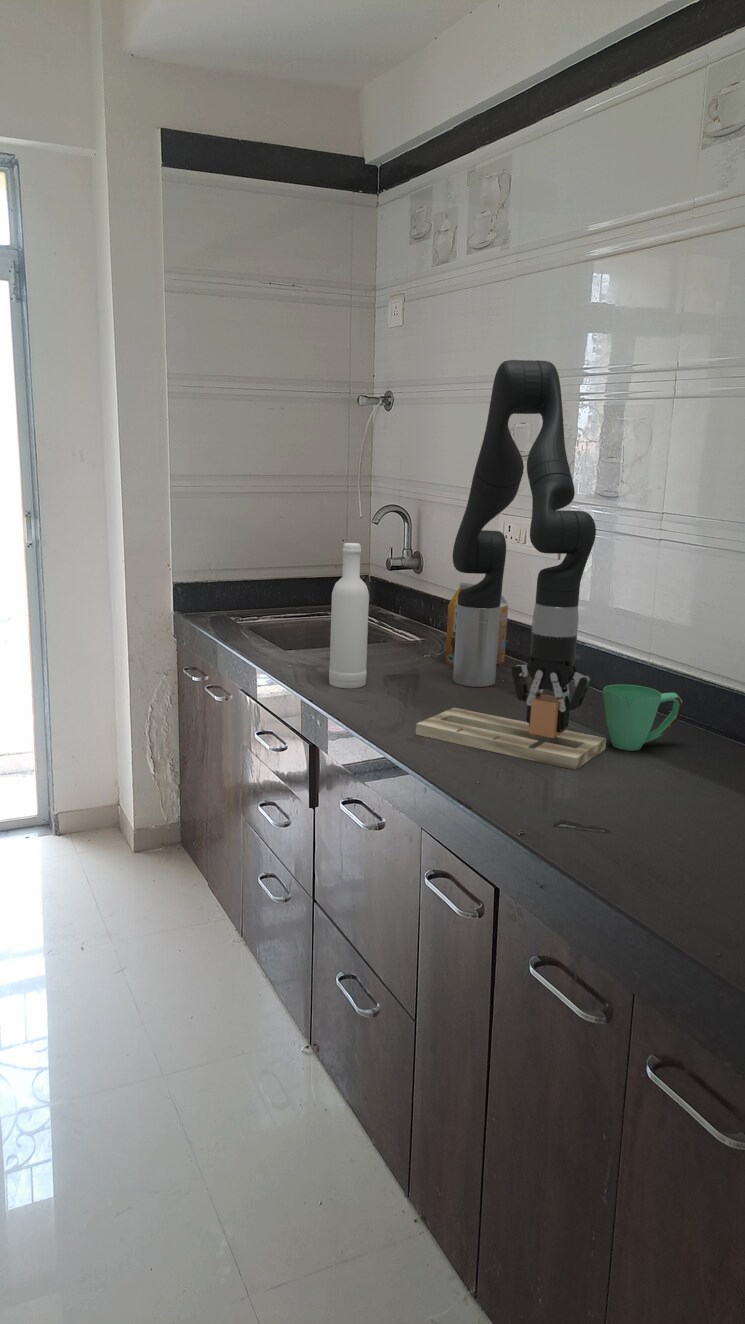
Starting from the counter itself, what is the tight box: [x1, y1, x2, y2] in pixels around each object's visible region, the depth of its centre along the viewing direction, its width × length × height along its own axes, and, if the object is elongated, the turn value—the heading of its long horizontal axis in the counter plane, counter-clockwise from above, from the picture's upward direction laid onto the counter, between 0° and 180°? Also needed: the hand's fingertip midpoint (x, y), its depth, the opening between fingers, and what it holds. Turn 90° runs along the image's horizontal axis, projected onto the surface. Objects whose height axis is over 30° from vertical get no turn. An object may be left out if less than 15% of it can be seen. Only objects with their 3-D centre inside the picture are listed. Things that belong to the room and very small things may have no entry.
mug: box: [602, 684, 683, 752], centre depth 167 cm, size 15×10×10 cm
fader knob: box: [529, 693, 563, 744], centre depth 163 cm, size 4×4×9 cm
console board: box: [415, 707, 607, 771], centre depth 167 cm, size 14×30×2 cm, turn 57°
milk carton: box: [444, 581, 509, 666], centre depth 227 cm, size 10×11×19 cm
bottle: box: [328, 542, 370, 689], centre depth 200 cm, size 8×8×30 cm
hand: (546, 728), depth 163 cm, fingers closed on fader knob, 4 cm apart
